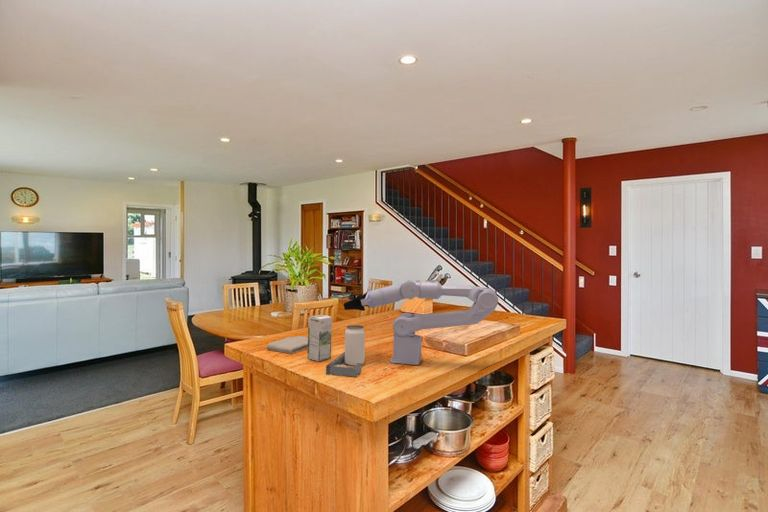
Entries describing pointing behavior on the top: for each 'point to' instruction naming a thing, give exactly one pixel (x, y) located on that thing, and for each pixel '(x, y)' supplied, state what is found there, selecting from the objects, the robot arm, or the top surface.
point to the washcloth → (289, 344)
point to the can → (354, 345)
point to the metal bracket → (343, 367)
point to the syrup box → (319, 337)
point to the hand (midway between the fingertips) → (347, 305)
